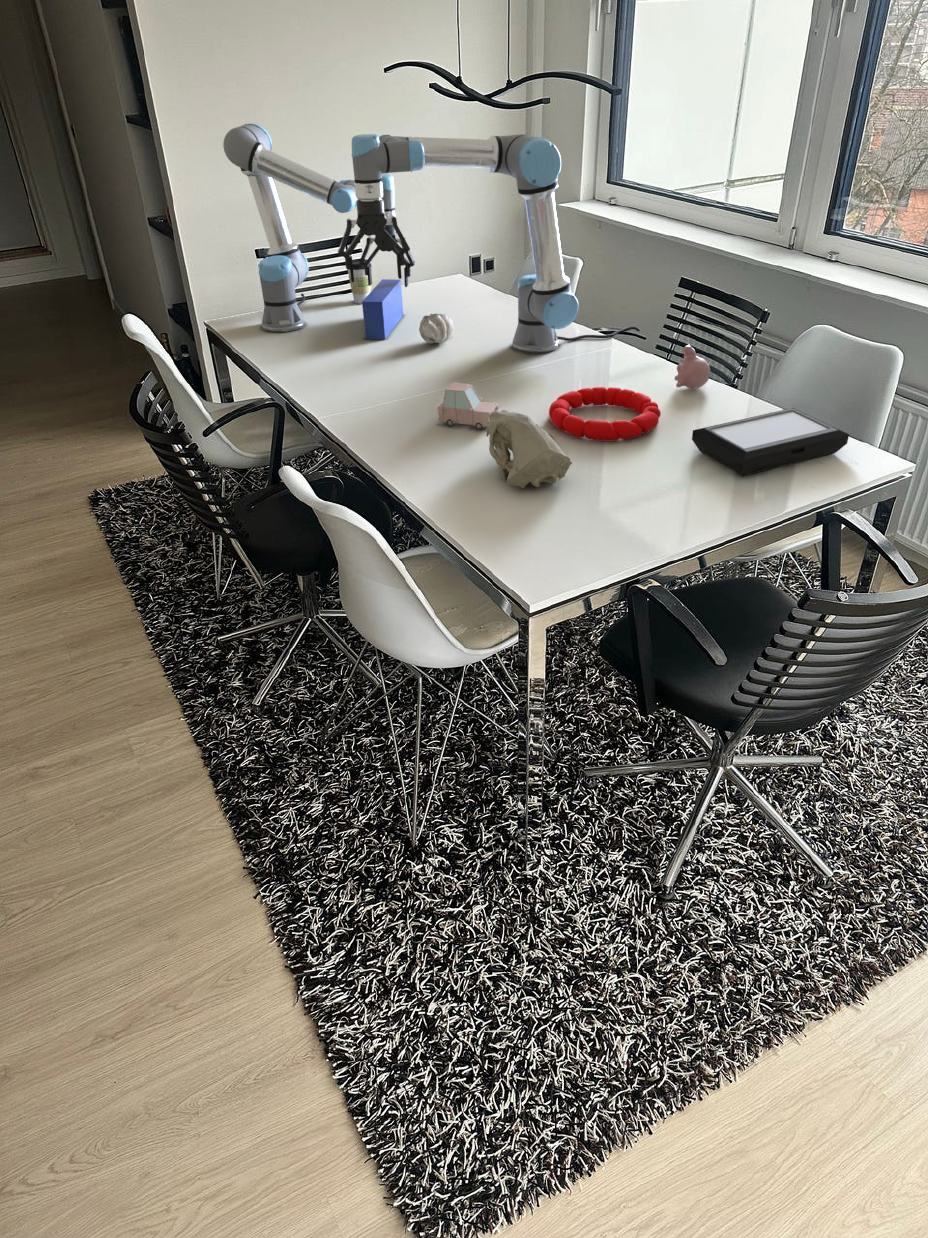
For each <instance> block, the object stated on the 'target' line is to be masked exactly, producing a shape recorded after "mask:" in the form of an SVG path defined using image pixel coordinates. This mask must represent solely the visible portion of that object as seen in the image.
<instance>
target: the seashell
mask: <svg viewBox="0 0 928 1238" xmlns="http://www.w3.org/2000/svg"><path fill="white" fill-rule="evenodd" d="M418 331H419V334H420V337H421V338H422V339H423V341H425V342H426V343H428V344H435V343H436V344H443V343H446V342H447V341H448V339H450V337H451V336H452V334H453V332H454V323H453V321H452V319H451V317H450V316H447V314H446V313H444V314H443V313H433V312H432V313H430V315H424V316H423V317H422V319H421V320H420V323H419V327H418Z"/></svg>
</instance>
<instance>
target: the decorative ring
mask: <svg viewBox="0 0 928 1238" xmlns="http://www.w3.org/2000/svg"><path fill="white" fill-rule="evenodd" d="M583 405H584V406H586V407H587V406H591V405H593V406H604V405H608V406H614V407H619V408H624V409H628V410H632V411H635V412H636V413H638V414H639V415H637V416H635V417H632V418H631V419H630V420H625V419H624V420H623V419H622V420H614V421H611V422H609V421H607V420H606V421H605V420H593V419H587V420H586V421H585V419H584V418H582V417H579V416H577V415H573V414H571V413H570V410H571V409H579V408H581V407H582V406H583ZM548 416H549V419H550V422H551V423H552V425H553V426H554V427H555V428H556V429H558V430H559V431H561V432H563V433H567V434H568V435H569V436H573V437H576V438H580V439H582V438H583V437H585V438H586V439H587V440H591V441H601V442H602V441H603V442H608V441H609V442H610V441H611V442H612V441H615V442H616V441H618V440H630V439H634V438H638V437H641V436H642V434H647V433H650V432H651V431H653V430H654V429H655V428H656V427H657V426H658V424H659V422H660V421H659V420H660V417H661V410H660V408H659V405H658V403H657V402H656V401H652V399H651V397H649V396H648V395H646V394H644V393H642V392H635V391H634V390H632V389H628V388H624V389H622V388H620V387H613V386H612V387H611V386H610V387H608V388H606V387H604V386H594V387H585V388H584V387H583V388H580V389H578V390H571V391H568V392H565V393H563V394H561V395H560V396H558V397H557V398H556V400H554V401H552V403H551V404H550V407H549V409H548Z"/></svg>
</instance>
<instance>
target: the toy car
mask: <svg viewBox="0 0 928 1238" xmlns="http://www.w3.org/2000/svg"><path fill="white" fill-rule="evenodd" d="M498 409H499V404H498V403H497V402H490V401H489V402H487V401H483V397H481V396H480V395H479V394H478V393H477V391H476V390H475V389H474V386H472V384H469V383H459V382H451V383H450V384H449V385H448V386H447V387H446V388H445V389H444V394H443V399H442V403H440V404H439V405H438V406H437V413H438V421H439V422H443V423H446V425H447V426H448V427H452V426H454V425H455V424H461V425H469V426H473V427H475V429H476V430H479V431H480V430H481V429H483V428H485V427H486V428H487V423H488V422H490V414H491V413H492V412H496V411H499V410H498Z"/></svg>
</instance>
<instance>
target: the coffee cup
mask: <svg viewBox="0 0 928 1238" xmlns="http://www.w3.org/2000/svg"><path fill="white" fill-rule="evenodd" d="M360 259H361V258H355V259H352V263H353V273H354V282H351V275H350V270H347V273H348V279H349V285H350V289H351V293H352V298H353V302H354V303H355V304H361V305H362V301H363V300H364V299H365V298H366V297H367V296H368V295H369V293H370V292H371V291H372V290H371V289H372V285H371V286H368V276H366V275H365V267H364V265H360V264H359V261H360ZM367 260H368V258H367V259H366V258H365V260H364V261H367ZM369 265H371V268H372V267H373V265H372V263H371V262H370V263H369Z"/></svg>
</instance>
